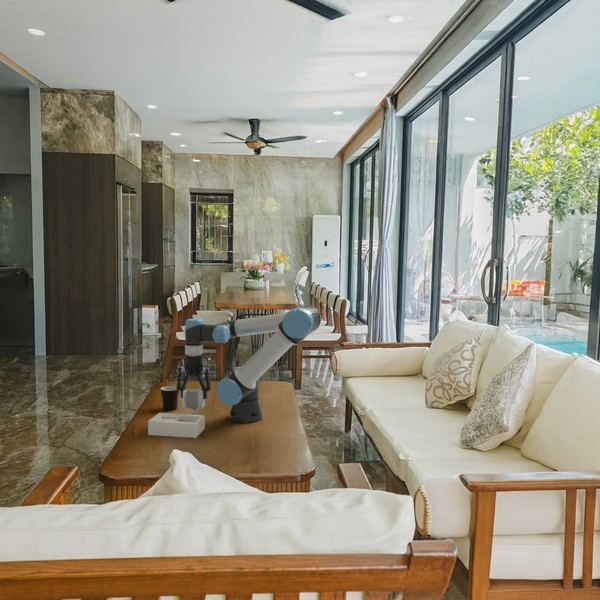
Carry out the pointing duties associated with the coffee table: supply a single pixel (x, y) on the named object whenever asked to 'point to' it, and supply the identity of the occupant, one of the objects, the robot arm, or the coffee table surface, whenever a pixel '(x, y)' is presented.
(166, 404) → the coffee mug
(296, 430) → the coffee table surface
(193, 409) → the t peg
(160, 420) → the white stepped recess tray
